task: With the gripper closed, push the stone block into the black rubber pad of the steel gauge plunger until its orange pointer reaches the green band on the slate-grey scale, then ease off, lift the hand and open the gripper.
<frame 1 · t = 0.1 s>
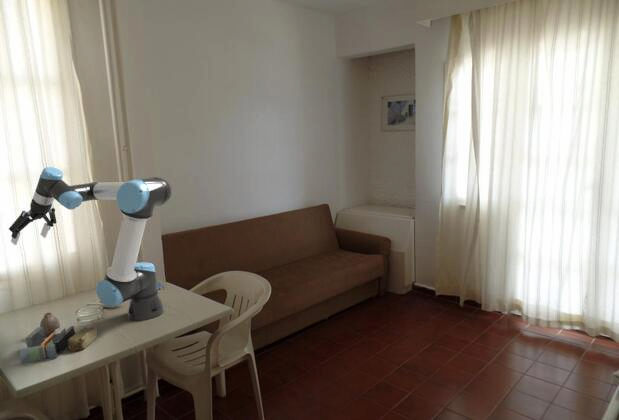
hand: (28, 239, 189), 36 cm above the table, tool tilted 35°, fingers open, 13 cm apart
plunger: (59, 340, 160), point 3 cm above the table, slide at 0.0 cm
woven mat: (152, 290, 224), on the table
vase: (51, 334, 175), on the table
gauge housing: (68, 346, 163), on the table
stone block: (83, 345, 164), on the table
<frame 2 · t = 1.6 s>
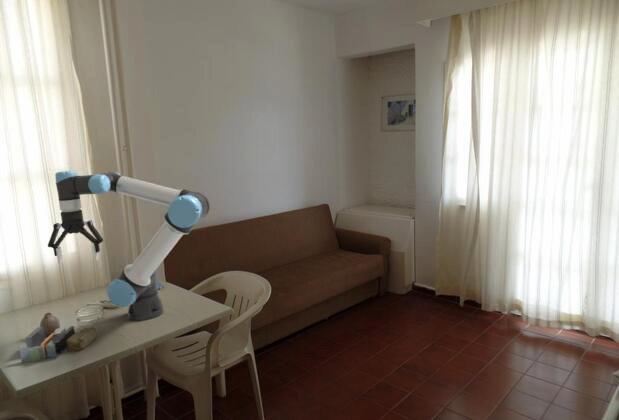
hand: (78, 261, 174), 29 cm above the table, tool pointing down, fingers open, 13 cm apart
nothing on the table moved.
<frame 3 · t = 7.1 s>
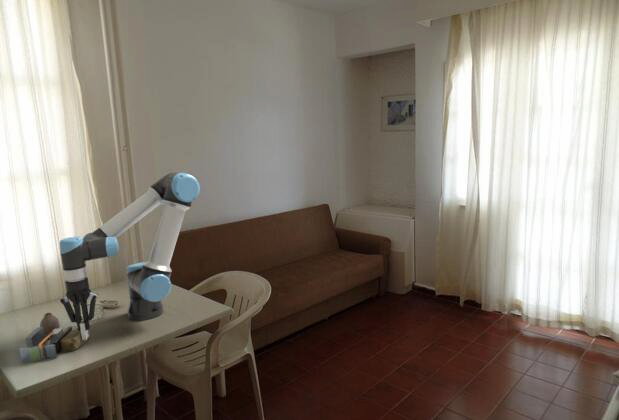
hand: (85, 338, 163), 2 cm above the table, tool pointing down, fingers closed
plunger: (57, 340, 160), point 4 cm above the table, slide at 0.8 cm, touching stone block
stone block: (76, 345, 164), on the table, touching plunger
everything else where it was.
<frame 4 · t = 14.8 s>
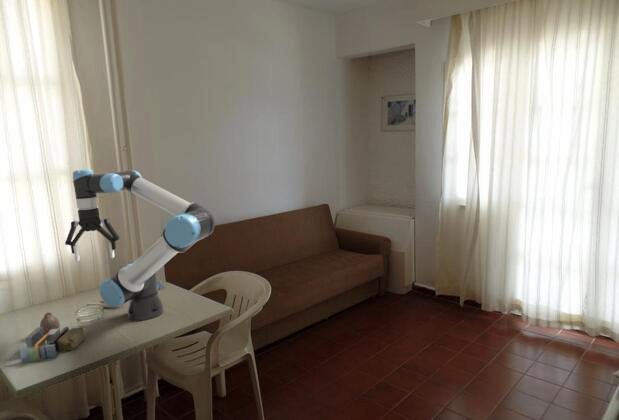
hand: (95, 259, 176), 29 cm above the table, tool pointing down, fingers open, 13 cm apart
plunger: (53, 340, 160), point 4 cm above the table, slide at 2.0 cm
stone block: (72, 345, 164), on the table
everything else where it was.
at the end: plunger slide at 2.1 cm; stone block moved 4.5 cm from its start; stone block tilted 0° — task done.
